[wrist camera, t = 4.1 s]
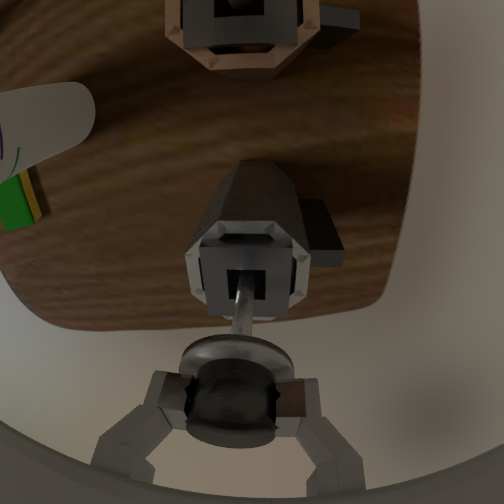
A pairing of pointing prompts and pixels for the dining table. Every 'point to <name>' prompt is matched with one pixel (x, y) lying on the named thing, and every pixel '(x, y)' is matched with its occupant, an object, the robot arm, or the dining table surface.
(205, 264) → the steel press carafe
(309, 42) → the copper press carafe
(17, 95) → the cylindrical container
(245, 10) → the copper press plunger
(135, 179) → the dining table surface
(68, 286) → the dining table surface
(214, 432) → the steel press plunger
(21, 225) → the dish sponge
